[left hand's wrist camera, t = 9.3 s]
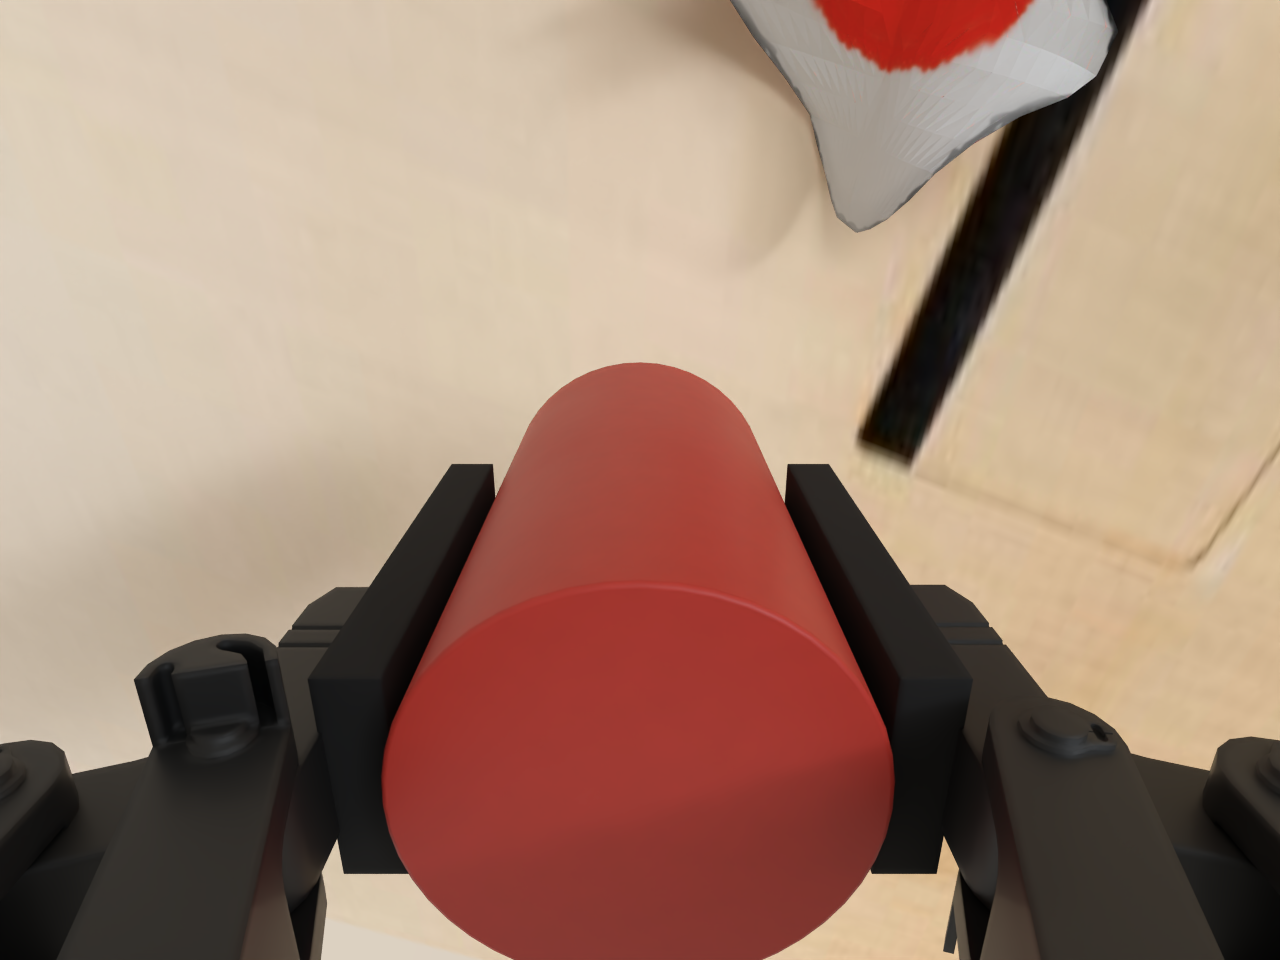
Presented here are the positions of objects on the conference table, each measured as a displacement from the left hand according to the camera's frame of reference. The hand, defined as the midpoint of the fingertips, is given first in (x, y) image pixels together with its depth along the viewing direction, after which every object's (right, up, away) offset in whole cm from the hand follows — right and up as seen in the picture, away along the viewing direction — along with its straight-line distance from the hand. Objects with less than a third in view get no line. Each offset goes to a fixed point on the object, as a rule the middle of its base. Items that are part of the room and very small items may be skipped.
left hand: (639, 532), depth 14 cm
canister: (0, +1, +2) cm, 3 cm away
